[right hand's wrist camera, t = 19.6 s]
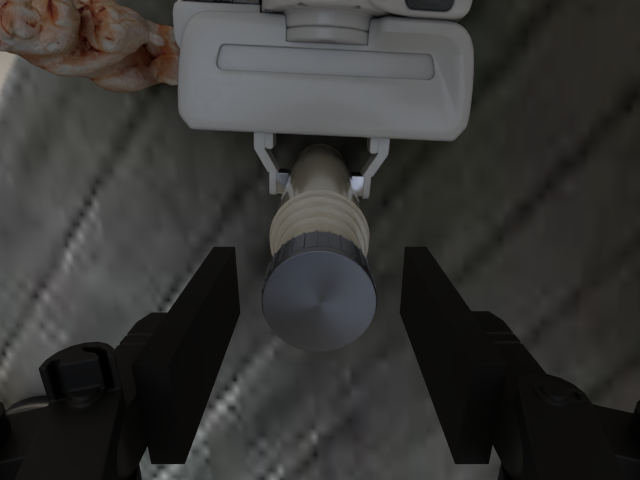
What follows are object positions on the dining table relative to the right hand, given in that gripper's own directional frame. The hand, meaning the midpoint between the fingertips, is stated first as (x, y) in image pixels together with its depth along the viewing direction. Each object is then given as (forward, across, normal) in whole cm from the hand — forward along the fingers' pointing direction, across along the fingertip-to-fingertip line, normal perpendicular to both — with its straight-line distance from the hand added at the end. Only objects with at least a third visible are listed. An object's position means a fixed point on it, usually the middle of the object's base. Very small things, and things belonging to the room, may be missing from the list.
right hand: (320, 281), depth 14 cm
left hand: (+17, 0, -1) cm, 17 cm away
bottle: (+23, 0, 0) cm, 23 cm away
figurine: (+23, -14, +10) cm, 29 cm away
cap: (-1, 0, 0) cm, 1 cm away
